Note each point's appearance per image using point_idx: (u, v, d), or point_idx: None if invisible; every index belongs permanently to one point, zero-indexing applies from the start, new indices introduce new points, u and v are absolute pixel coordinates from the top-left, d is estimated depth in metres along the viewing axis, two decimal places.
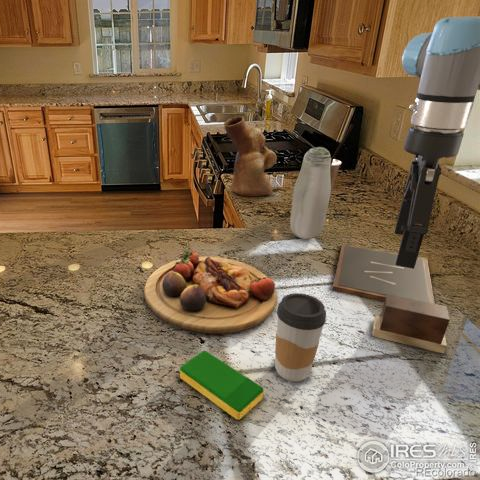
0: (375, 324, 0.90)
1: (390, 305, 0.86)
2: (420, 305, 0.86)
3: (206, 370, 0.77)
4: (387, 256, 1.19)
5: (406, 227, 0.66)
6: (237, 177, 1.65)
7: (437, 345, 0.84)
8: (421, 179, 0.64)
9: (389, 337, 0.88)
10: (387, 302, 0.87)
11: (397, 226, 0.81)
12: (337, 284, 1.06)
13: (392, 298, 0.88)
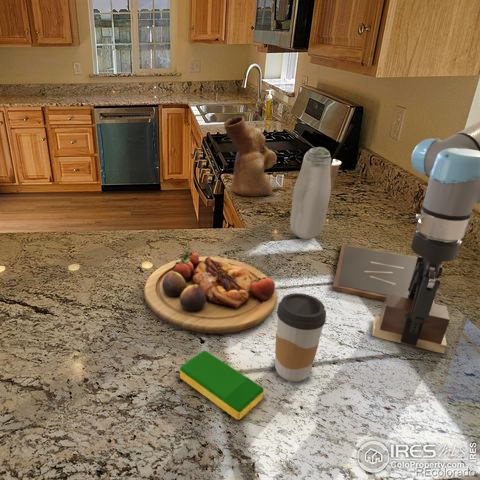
0: (375, 324, 0.90)
1: (390, 305, 0.86)
2: None
3: (206, 370, 0.77)
4: (387, 256, 1.19)
5: (409, 316, 0.83)
6: (237, 177, 1.65)
7: (437, 345, 0.84)
8: (423, 286, 0.77)
9: (389, 337, 0.88)
10: (387, 302, 0.87)
11: None
12: (337, 284, 1.06)
13: (392, 298, 0.88)
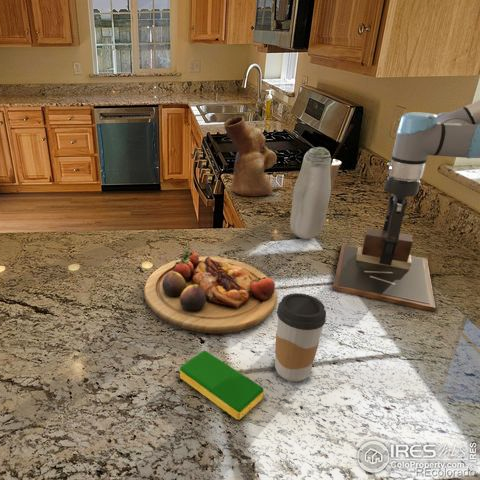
0: (358, 251, 1.17)
1: (369, 234, 1.13)
2: None
3: (206, 370, 0.77)
4: None
5: (385, 239, 1.06)
6: (237, 177, 1.65)
7: (404, 263, 1.12)
8: (394, 210, 1.03)
9: (369, 260, 1.15)
10: (367, 232, 1.14)
11: None
12: (337, 284, 1.06)
13: (371, 230, 1.15)
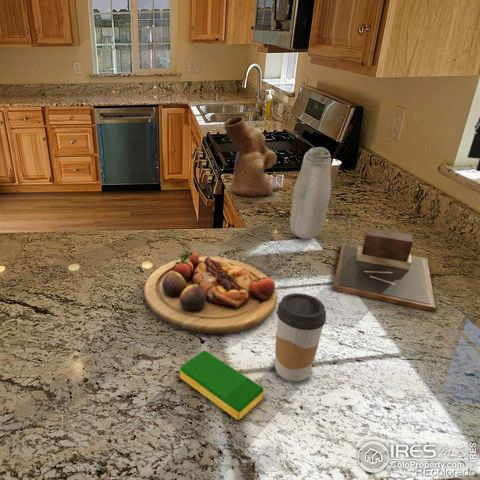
0: (358, 251, 1.17)
1: (369, 234, 1.13)
2: (392, 234, 1.13)
3: (206, 370, 0.77)
4: None
5: None
6: (237, 177, 1.65)
7: (404, 263, 1.12)
8: None
9: (369, 260, 1.15)
10: (367, 232, 1.14)
11: (470, 152, 1.15)
12: (337, 284, 1.06)
13: (371, 230, 1.15)
